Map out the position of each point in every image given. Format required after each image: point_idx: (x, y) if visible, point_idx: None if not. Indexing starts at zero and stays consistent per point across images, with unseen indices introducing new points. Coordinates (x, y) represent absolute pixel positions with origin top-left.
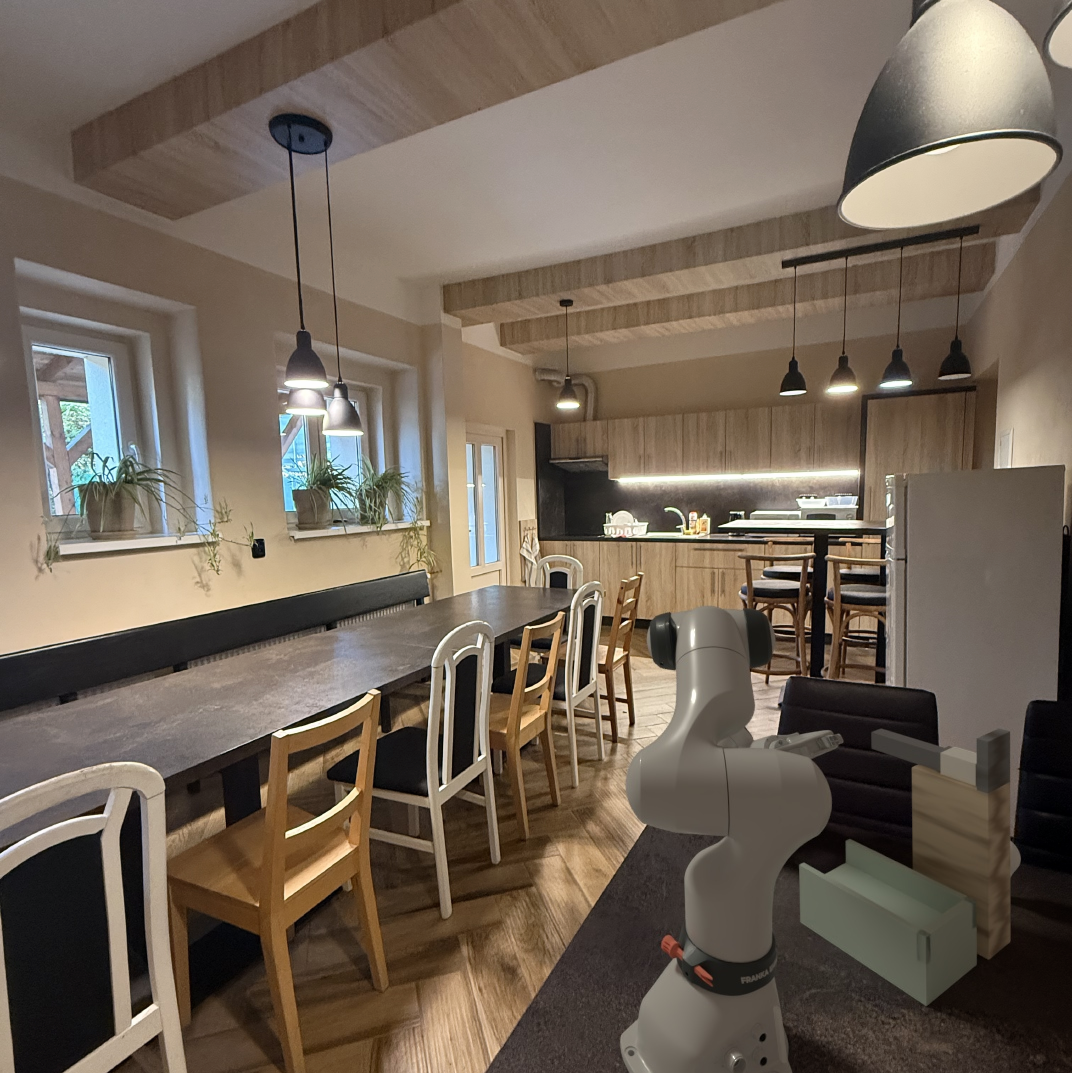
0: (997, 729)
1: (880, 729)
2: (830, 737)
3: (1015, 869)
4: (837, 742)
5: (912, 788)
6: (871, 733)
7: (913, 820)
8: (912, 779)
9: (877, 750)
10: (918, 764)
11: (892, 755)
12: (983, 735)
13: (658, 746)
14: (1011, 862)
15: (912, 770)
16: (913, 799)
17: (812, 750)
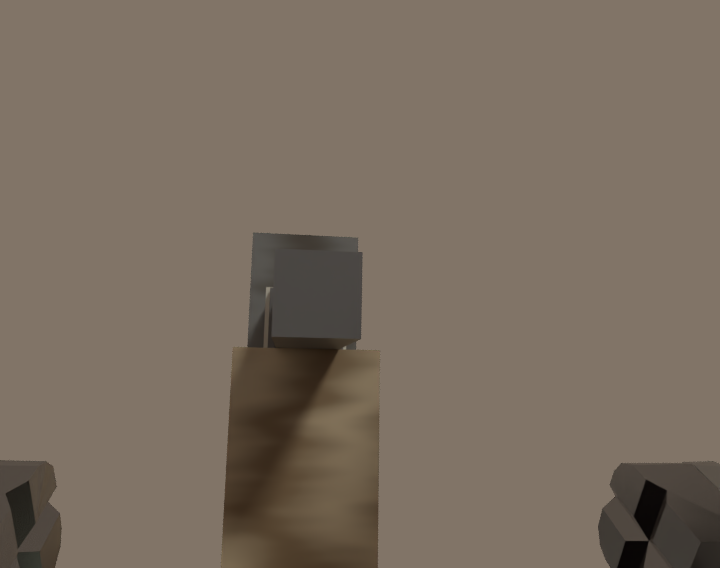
0: (262, 233)
1: (290, 250)
2: (4, 539)
3: None
4: (48, 552)
5: (378, 426)
6: (361, 259)
7: (376, 547)
8: (379, 392)
9: (356, 340)
10: (340, 349)
11: (348, 344)
12: (327, 236)
13: None
14: None
15: (379, 360)
16: (377, 465)
17: (609, 506)
